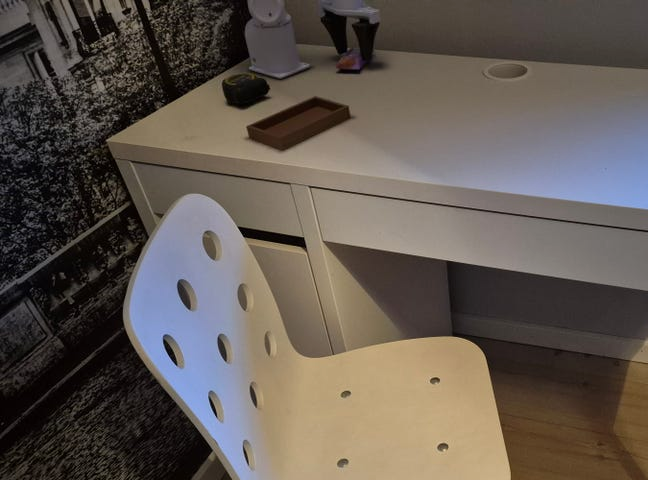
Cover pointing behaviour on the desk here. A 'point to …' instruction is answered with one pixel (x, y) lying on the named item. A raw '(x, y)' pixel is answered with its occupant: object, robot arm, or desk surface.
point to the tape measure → (244, 88)
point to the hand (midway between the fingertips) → (354, 56)
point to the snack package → (351, 60)
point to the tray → (298, 122)
